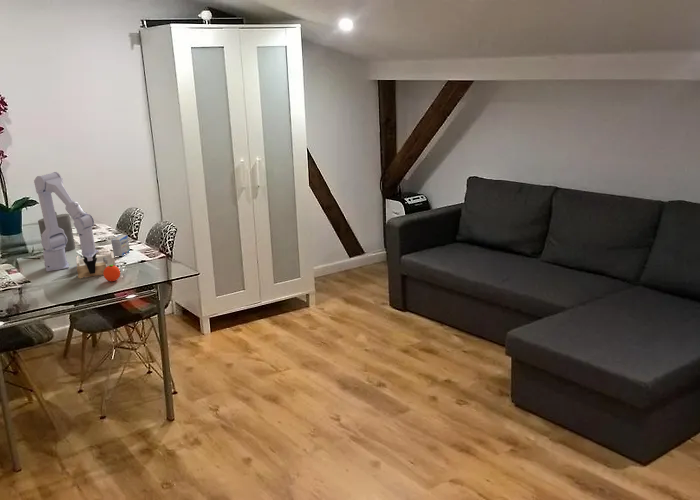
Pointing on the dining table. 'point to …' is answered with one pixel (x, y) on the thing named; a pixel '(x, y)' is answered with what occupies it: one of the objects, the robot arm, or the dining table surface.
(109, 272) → the clementine
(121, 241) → the medicine box
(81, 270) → the wooden block
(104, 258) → the peg frame
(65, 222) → the flask
